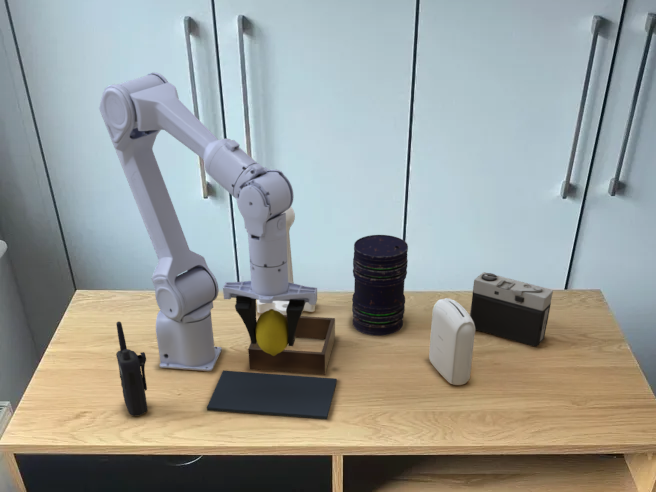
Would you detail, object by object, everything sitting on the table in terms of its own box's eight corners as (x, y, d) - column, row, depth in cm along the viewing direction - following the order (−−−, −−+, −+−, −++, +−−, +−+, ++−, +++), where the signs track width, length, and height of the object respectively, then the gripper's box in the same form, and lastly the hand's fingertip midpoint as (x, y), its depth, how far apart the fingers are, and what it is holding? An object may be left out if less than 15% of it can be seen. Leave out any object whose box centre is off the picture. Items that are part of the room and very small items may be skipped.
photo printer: (425, 359, 154) (430, 293, 145) (446, 355, 155) (453, 289, 146) (449, 388, 147) (457, 320, 138) (472, 383, 148) (481, 316, 139)
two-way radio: (123, 402, 143) (107, 318, 132) (150, 397, 144) (136, 313, 133) (130, 420, 139) (114, 334, 129) (157, 414, 140) (143, 329, 130)
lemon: (278, 367, 138) (275, 320, 132) (250, 358, 140) (246, 311, 135) (297, 352, 141) (295, 307, 136) (269, 344, 143) (267, 298, 138)
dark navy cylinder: (346, 332, 161) (347, 253, 150) (357, 309, 167) (359, 232, 157) (399, 338, 159) (404, 259, 149) (407, 314, 166) (412, 237, 156)
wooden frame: (249, 369, 151) (248, 349, 148) (264, 333, 160) (262, 313, 157) (325, 375, 149) (324, 354, 147) (335, 338, 159) (335, 318, 156)
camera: (553, 330, 162) (563, 279, 155) (535, 348, 157) (545, 296, 150) (485, 312, 167) (492, 261, 160) (467, 328, 162) (473, 277, 155)
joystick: (314, 303, 169) (312, 198, 155) (315, 321, 164) (314, 214, 150) (257, 304, 169) (251, 199, 155) (257, 322, 163) (250, 215, 149)
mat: (207, 410, 141) (206, 407, 141) (223, 373, 150) (222, 370, 149) (327, 419, 139) (327, 416, 139) (336, 381, 148) (336, 378, 148)
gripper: (215, 267, 127) (223, 351, 137) (312, 273, 126) (313, 357, 136) (225, 248, 132) (232, 330, 142) (318, 254, 131) (319, 335, 141)
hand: (272, 342), depth 139 cm, fingers closed on lemon, 5 cm apart
